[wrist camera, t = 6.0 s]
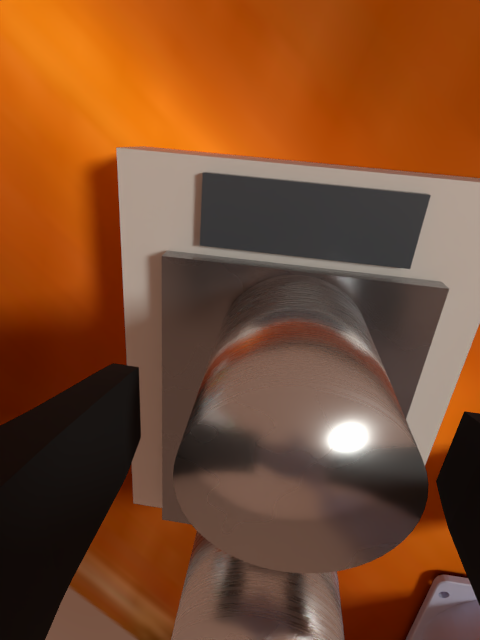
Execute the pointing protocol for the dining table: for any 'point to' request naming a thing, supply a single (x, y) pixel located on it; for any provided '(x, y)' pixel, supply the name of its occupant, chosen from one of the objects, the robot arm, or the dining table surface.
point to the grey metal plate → (236, 277)
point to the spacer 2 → (254, 601)
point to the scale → (293, 254)
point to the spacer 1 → (299, 436)
